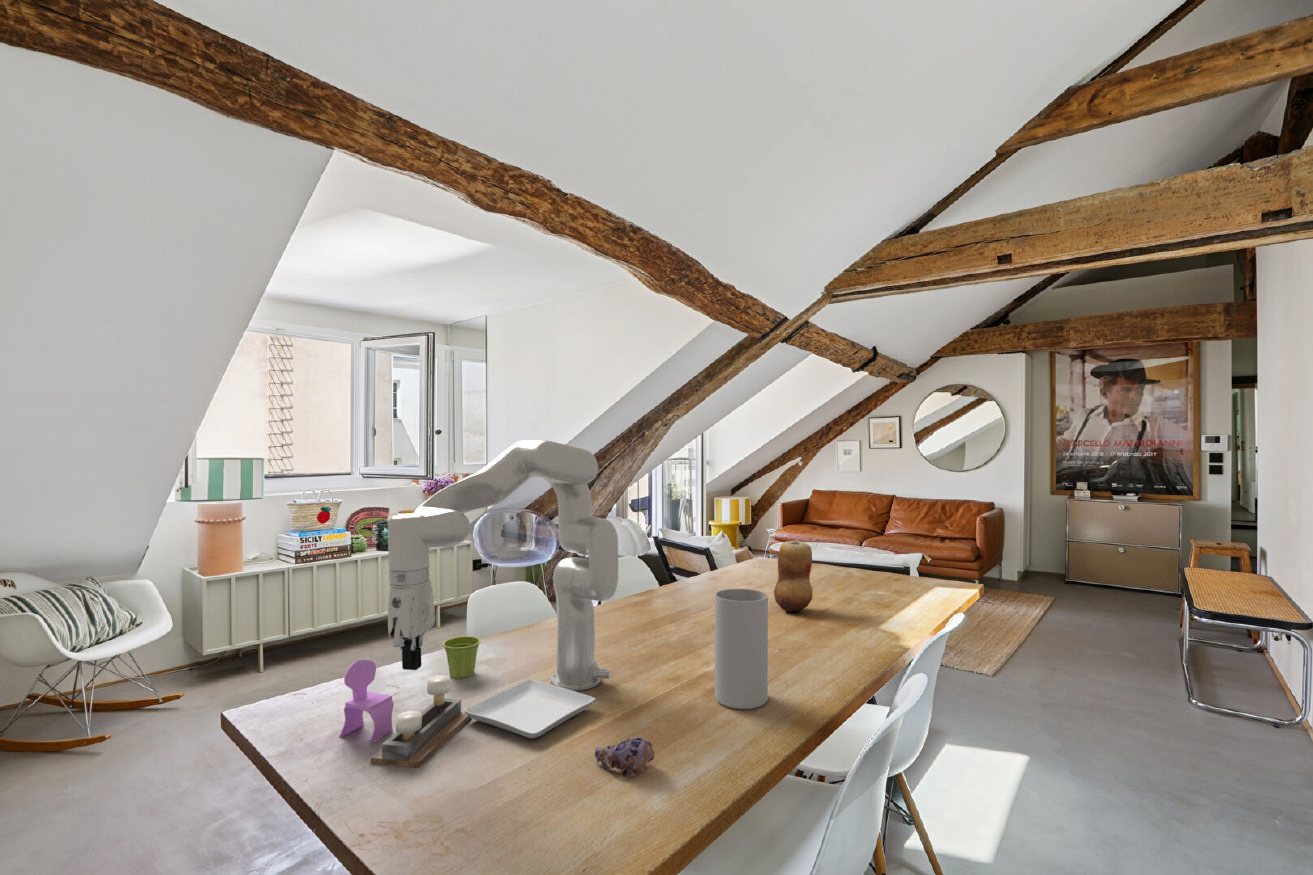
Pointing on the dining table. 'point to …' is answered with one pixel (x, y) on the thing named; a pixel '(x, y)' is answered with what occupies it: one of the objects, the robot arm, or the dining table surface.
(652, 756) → the grey-brown rounded lump
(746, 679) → the cylinder vase
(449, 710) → the mount
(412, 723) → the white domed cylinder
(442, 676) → the plunger far
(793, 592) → the butternut squash
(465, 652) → the plant pot
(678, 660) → the dining table surface
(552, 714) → the salad plate
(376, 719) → the toy chair
